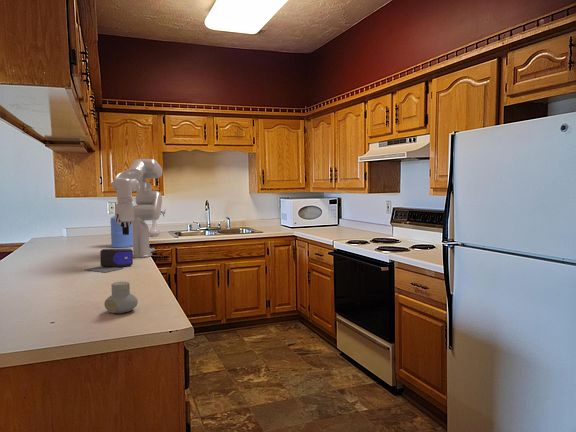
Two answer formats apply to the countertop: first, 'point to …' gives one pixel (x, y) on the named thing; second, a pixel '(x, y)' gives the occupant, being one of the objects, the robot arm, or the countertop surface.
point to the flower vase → (155, 227)
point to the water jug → (120, 235)
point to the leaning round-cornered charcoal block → (116, 257)
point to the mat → (103, 269)
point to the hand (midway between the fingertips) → (125, 234)
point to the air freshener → (120, 298)
